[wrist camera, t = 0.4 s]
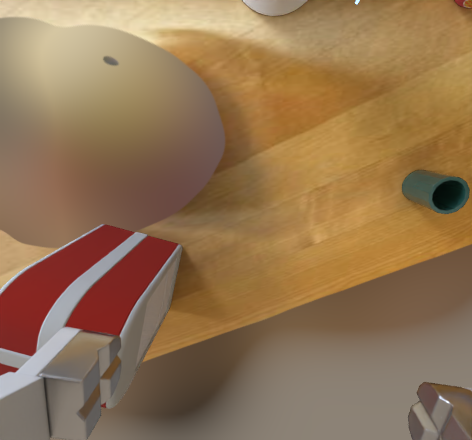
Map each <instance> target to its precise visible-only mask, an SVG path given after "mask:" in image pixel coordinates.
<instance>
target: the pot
mask: <svg viewBox="0 0 472 440" xmlns="http://www.w3.org/2000/svg"><path fill="white" fill-rule="evenodd" d="M402 191H403V194H404V196H405V197H406V198H407V199H409V200H411V201H412V202H414V203H417V204H419V205H421V206H423V207H426V208H428V209H430V210H433V211H435V212H437V213H441V214H449V213H453V212H456V211H458V210H459V209H460V208H462V207H463V206H464V205H465V203H466V202H467V200H468V198H469V191H470V190H469V187H468V185H467V182H466V181H464V180H463V179H461V178H460V177H455V176H451V175H446V174H442V173H437V172H432V171H426V170H417V171H414V172H412V173H411V174H409V175H408V176H407V177H406V178H405V180H404V182H403V185H402Z"/></svg>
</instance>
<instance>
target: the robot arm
mask: <svg viewBox="0 0 472 440" xmlns="http://www.w3.org/2000/svg"><path fill="white" fill-rule="evenodd" d="M242 1H243V2H244V3H245V4H246V5H247V6H248V7H250V8H251V9H253V10H254V11H256V12H258V13H261V14H264V15H269V16H279V15H284V14H288V13H290V12H292V11H294V10H296V9H298V8H299V7H301V6H302V5H303V4H304V3H305V2H307V1H308V0H242ZM358 2H359V0H356V2H355V4H358ZM120 349H121V337H119V336H118V335H113V334H107V333H101V332H96V331H90V330H85V329H84V330H82V329H77V328H71V327H65V328H62V329H60V330H59V331H58V332H57V333H56V334H55V335H54V336H53V337H52V338H51V339H50V340H49V341H48V342H47V343H46V344H45V345H43V346H42V347H41V348H40V349H39V350H38V351H37V352H36V353H35V354H34V355H33V356H32V357H31V358H30V359H29V360H28V361H27V362H26V363H25V364H24V365H23V366H22V367H21V368H20V369H19V370H18V371H17V372H15V373H14V372H8V373H6V374H3V375H1V376H0V440H50V437H51V438H58V439H65V440H87V439H88V437H89V436H90V434H91V432H92V430H93V429H94V427H95V425H96V423H97V422H98V419H99V418H100V416H101V405H102V404H104V403H105V402H107V401H108V400H110V399H111V397H112V395H113V393H114V391H115V389H116V387H117V384H118V381H119V378H120V374H121V360H120V358H119V357H118V355H117V354H118V352H119V351H120ZM417 395H418V397H419V399H420V401H418V402H417V403H415V404H414V405H412V406H411V409H410V412H409V415H408V421H409V430H410V433H411V437H412V439H413V440H472V388H462V387H456V386H448V385H442V384H435V383H428V382H424V383H422V384H421V385H420V386H419V388H418V391H417Z"/></svg>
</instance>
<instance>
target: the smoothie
mask: <svg viewBox="0 0 472 440" xmlns="http://www.w3.org/2000/svg"><path fill="white" fill-rule="evenodd" d="M454 1H455V2H456V3H457V4H458V5H459V6H462V7H465V8H466V7H467V8H472V0H454Z"/></svg>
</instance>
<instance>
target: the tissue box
mask: <svg viewBox="0 0 472 440" xmlns="http://www.w3.org/2000/svg"><path fill="white" fill-rule="evenodd" d="M181 253H182V246H181V245H180V244H177V243H173V242H169V241H166V240H162V239H158V238H154V237H151V236H148V235H147V234H143V233H139V232H132V231H128V230H124V229H120V228H116V227H113V226H109V225H104V224H102V225H100V226H98V227H96V228H95V229H93V230H91V231H90V232H88V233H86V234H84V235H82V236H81V237H79V238H77V239H76V240H74V241H72V242H70V243H68V244H67V245H65V246H63V247H61V248H60V249H58V250H56V251H54V252H53V253H51V254H49V255H47V256H46V257H44V258H42V259H40V260H39V261H37V262H35V263H33V264H32V265H30V266H28V267H26V268H25V269H23V270H22V271H20V272H19V273H18V274H16V275H15V276H14V277H13V278H11V279H10V280H9V281H8V282H7V283H6V284H5V285H4V286H3V287H2V288H1V289H0V376H1V375H3V374H6V373H8V372H14V373H15V372H17V371H18V370H19V369H20V368H21V367H22V366H23V365H24V364H25V363H26V362H27V361H28V360H29V359H30V358H31V357H32V356H33V355H34V354H35V353H36V352H37V351H38V350H39V349H40V348H41V347H42V346H43V345H45V344H46V343H47V342H48V341H49V340H50V339H51V338H52V337H53V336H54V335H55V334H56V333H57V332H58V331H59V330H60V329H62V328H65V327H71V328H77V329H82V330H84V329H85V330H90V331H96V332H101V333H107V334H113V335H118V336H119V337H121V349H120V351H119V352H118V354H117V355H118V357H119V358H120V360H121V374H120V378H119V381H118V384H117V387H116V389H115V391H114V393H113V395H112V397H111V399H110V400H108V401H107V402H105V403H104V404H102V405H101V407H104V408H112V407H114V406H115V405H116V404H117V403H118V402H119V401H120V400H121V399H122V397H123V396H124V394H125V393H126V391H127V389H128V388H129V386H130V384H131V382H132V380H133V378H134V376H135V374H136V372H137V370H138V368H139V367H140V365H141V363H142V361H143V359H144V357H145V355H146V353H147V351H148V349H149V347H150V345H151V343H152V341H153V339H154V338H155V336H156V334H157V332H158V330H159V328H160V326H161V324H162V322H163V320H164V318H165V316H166V314H167V312H168V310H169V309H170V305H171V300H172V296H173V291H174V286H175V281H176V277H177V272H178V267H179V263H180V258H181Z"/></svg>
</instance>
